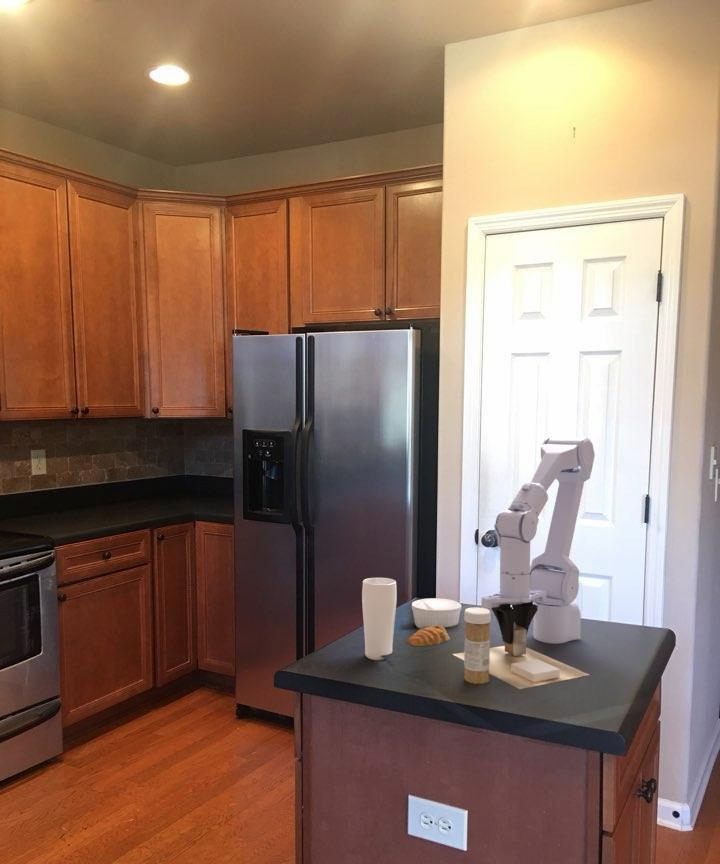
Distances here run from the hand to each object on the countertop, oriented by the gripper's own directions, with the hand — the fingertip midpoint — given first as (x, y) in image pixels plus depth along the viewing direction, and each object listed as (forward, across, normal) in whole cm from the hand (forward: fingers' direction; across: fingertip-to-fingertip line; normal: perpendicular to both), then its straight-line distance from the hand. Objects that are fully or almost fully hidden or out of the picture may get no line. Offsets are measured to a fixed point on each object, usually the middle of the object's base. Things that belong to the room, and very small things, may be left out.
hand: (513, 641), depth 138 cm
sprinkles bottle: (+4, -15, -8) cm, 17 cm away
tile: (+2, -4, -8) cm, 9 cm away
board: (+4, -3, -5) cm, 7 cm away
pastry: (+4, -10, +15) cm, 19 cm away
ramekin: (+4, -1, +26) cm, 26 cm away
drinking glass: (+4, -23, +13) cm, 27 cm away
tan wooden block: (+2, 0, 0) cm, 2 cm away
